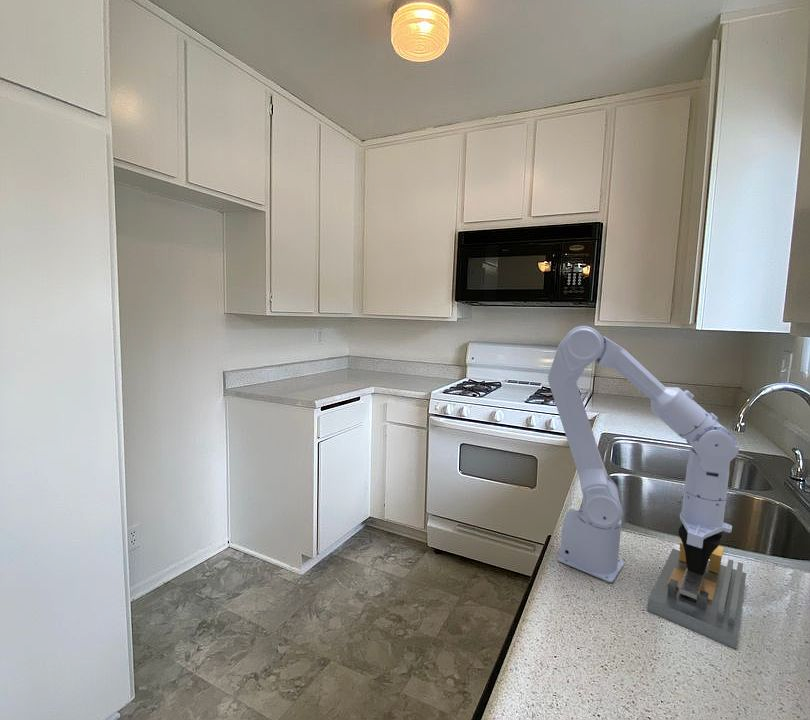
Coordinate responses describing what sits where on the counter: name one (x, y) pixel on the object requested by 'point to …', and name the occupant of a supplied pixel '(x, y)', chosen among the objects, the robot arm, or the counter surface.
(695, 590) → the strap
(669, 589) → the grey fixture base plate
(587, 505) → the robot arm
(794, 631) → the counter surface
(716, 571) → the clip
